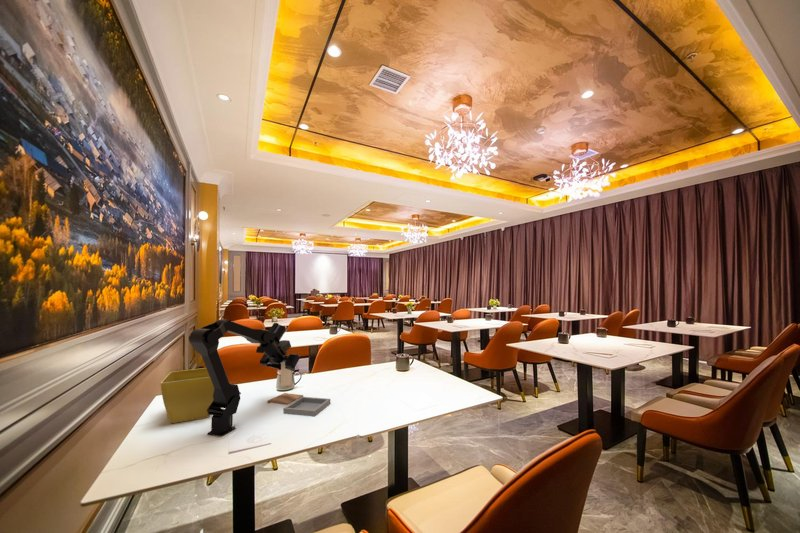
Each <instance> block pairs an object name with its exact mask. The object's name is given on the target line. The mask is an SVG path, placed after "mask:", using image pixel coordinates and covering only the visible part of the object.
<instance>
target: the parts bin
mask: <svg viewBox="0 0 800 533" xmlns="http://www.w3.org/2000/svg"><path fill="white" fill-rule="evenodd" d="M330 405H331V398H322V397H310V396H303V397H301V398H299V399H297V400H296V401H294V402H292V403H290V404H288V405H286V406H285V407H283V414H285V415H294V416H305V417H316V416H317V415H319V414H320V413H321V412H322V411H323V410H325V408H327V407H328V406H330Z"/></svg>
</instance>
